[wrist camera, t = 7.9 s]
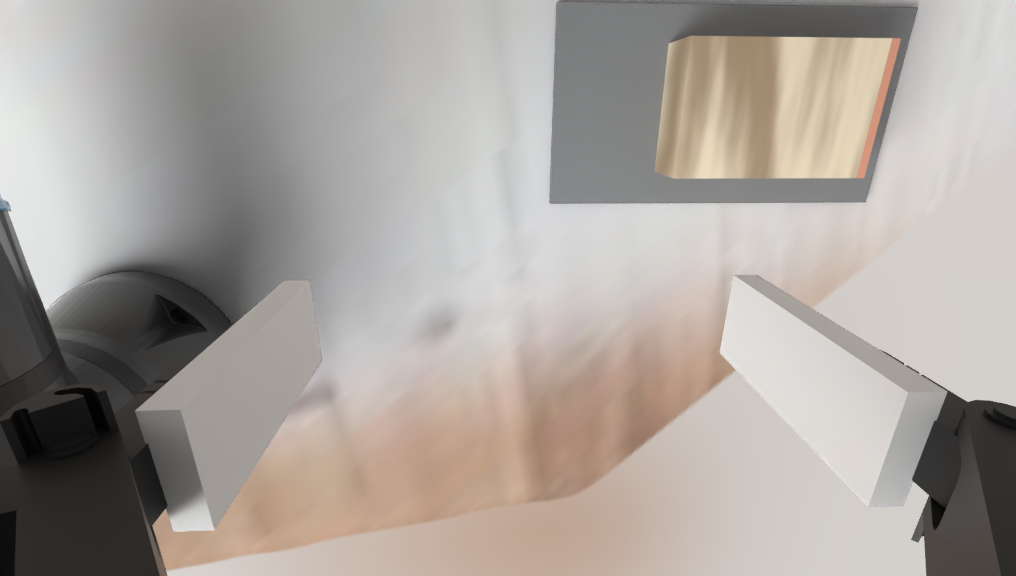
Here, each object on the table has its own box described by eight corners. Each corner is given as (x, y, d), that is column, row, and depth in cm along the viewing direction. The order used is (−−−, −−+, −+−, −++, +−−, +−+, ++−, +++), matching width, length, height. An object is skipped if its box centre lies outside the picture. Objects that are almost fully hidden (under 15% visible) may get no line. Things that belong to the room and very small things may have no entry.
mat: (549, 202, 39) (550, 203, 38) (556, 3, 34) (557, 1, 33) (860, 201, 40) (865, 202, 39) (911, 8, 35) (918, 7, 34)
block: (673, 178, 34) (864, 178, 34) (691, 35, 31) (901, 38, 31) (654, 171, 38) (826, 171, 38) (668, 43, 34) (856, 45, 35)
